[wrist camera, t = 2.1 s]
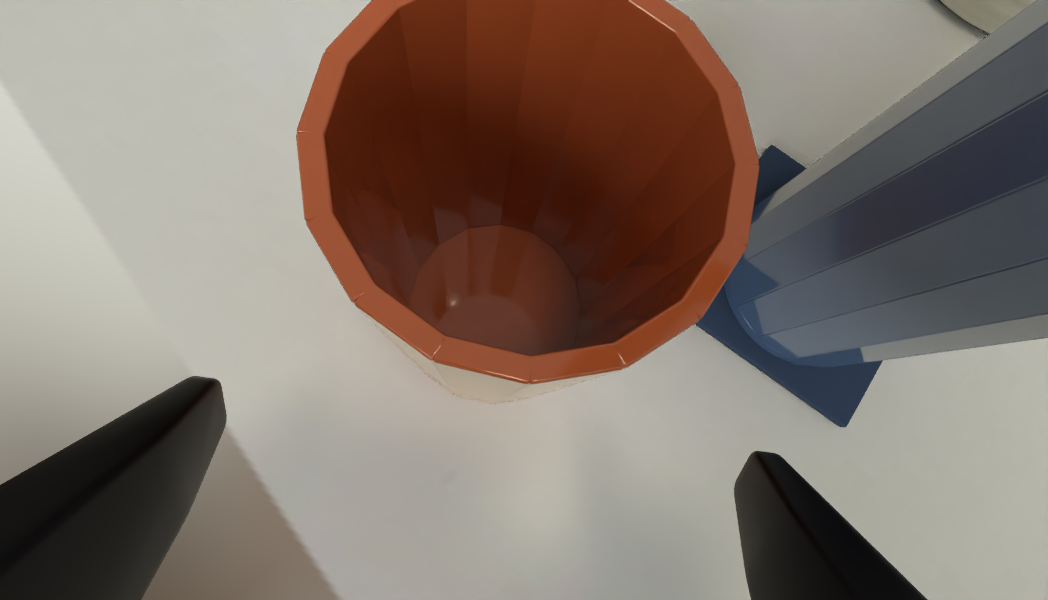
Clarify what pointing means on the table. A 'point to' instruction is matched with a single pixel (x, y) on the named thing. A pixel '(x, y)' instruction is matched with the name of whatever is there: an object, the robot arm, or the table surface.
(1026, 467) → the table surface
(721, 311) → the blue mat
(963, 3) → the jar
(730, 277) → the blue cup
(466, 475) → the table surface
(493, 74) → the terracotta cup
